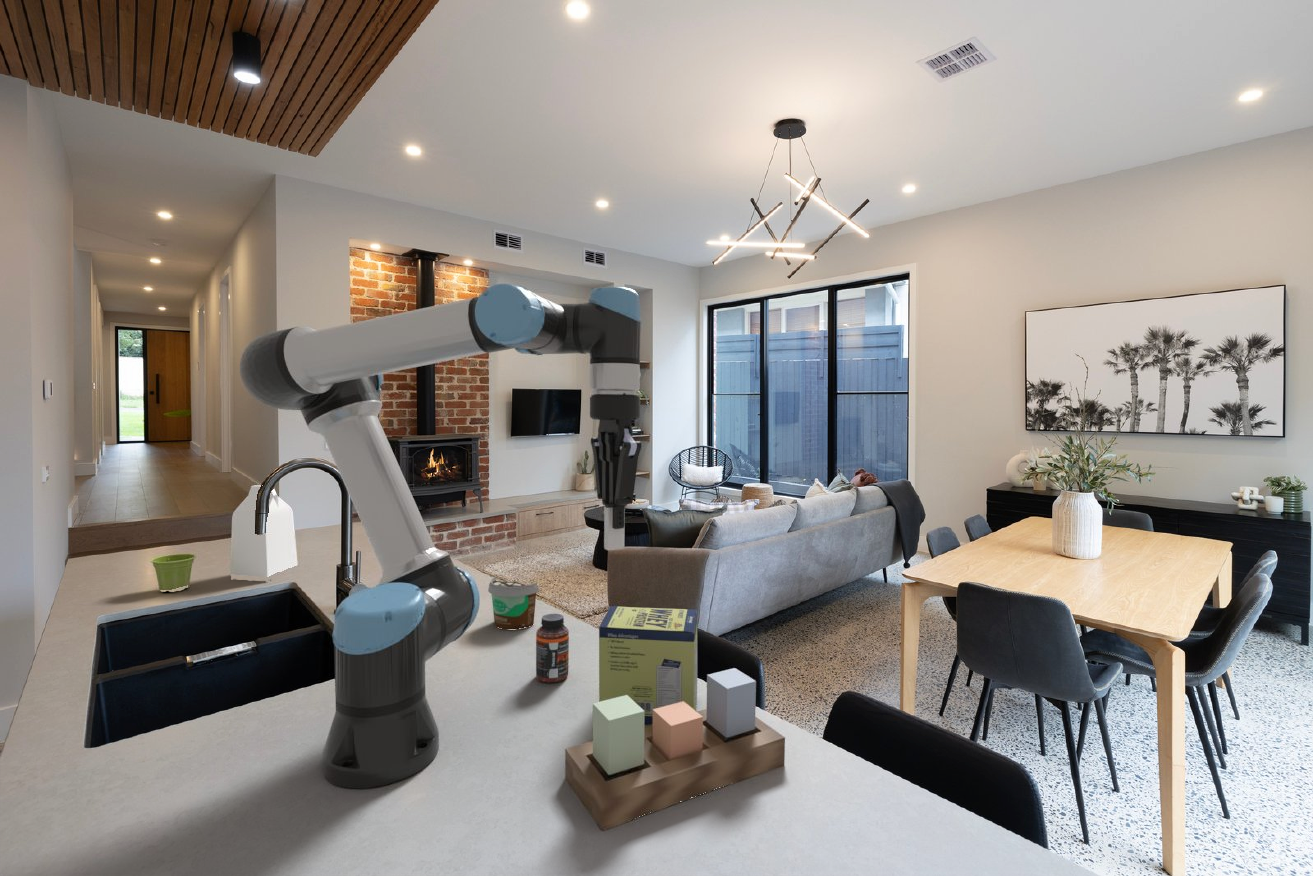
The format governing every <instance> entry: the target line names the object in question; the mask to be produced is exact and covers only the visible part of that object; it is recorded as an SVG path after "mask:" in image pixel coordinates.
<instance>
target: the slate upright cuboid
mask: <svg viewBox="0 0 1313 876" xmlns="http://www.w3.org/2000/svg"><path fill="white" fill-rule="evenodd" d="M756 693H757V681H756V679H753V678H752V677H750V676H749V675H747V674H745V673H744V672H742V670H741V671H740V670H739V669H737V668H735V667H733V668H729V669H725V670H721V671H717V672H713V673H710V674H709V673H708V674H706V709H707V716H706V722H707V723H709V724H710V725H711V726H712V727H714V728H715V729H716V730H717V731H719V732H720V733H721V734H722V735H724V736H725V737H726V738H728V737H731V736H734V735H737V734H741V733H744V732H747V731H750V730H753V729H755V717H756V701H757V700H756V699H757V697H756V696H757V694H756Z"/></svg>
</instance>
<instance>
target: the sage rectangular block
mask: <svg viewBox="0 0 1313 876" xmlns="http://www.w3.org/2000/svg"><path fill="white" fill-rule="evenodd" d="M644 713H645V711H644V710H643V709H642V708H641V707H640V706H638V705H637V704H636V703H635V702H634V701H633V700H632V699H631V698H630V697H629V696H628V695H624V696H620V697H617V698H613V699H609V700H605V701H601V702H599V701H597V702H593V703H592V741H593V756H594V757H595V759H596V760H597V761H598V762H599V764H600V765H601V766H602V767H603V769H604V770H605V771H606V772H607V774H608V775H611V774H614V773H617V772H620V771H624V770H627V769H630V768H633V767H636V766H639V765H643V764H644V726H645V725H644Z"/></svg>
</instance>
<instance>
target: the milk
mask: <svg viewBox="0 0 1313 876" xmlns="http://www.w3.org/2000/svg"><path fill="white" fill-rule="evenodd" d="M260 487H261V485H258V484H257V485H251V486H250V489H249V492H248V495H247V496H246V497H245V498H244V499H243V501H241V503H240V504H239V505H238V506H237V507H236V508H235V510H234V511H233V513H232V515H231V517H232V518H231V541H230V542H231V543H230V567H229V568H230V572H229V574H235V575H248V576H260V577H269V576H271V575H273V574H275V573H277V572H282V571H284V570H286V569H288V568H292V567H294V566H297V565H299V564H298V555H297V554H298V553H297V541H296V532H295V531H296V530H295V519H294V511H293V509H292V507H291V506H290V505H289V504H288V503H287V502H285V500H283V499H282V498H281V497H280V496H278V494H277V491H276V489H275V488H274V489H273V490H272V491H271V493H270V499H269V513H268V517H267V522H266V533H264V534H263V535H261V536H259V535H257V534H255V510H256V500H257V494H258V490H259V489H260Z"/></svg>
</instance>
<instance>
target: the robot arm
mask: <svg viewBox="0 0 1313 876" xmlns="http://www.w3.org/2000/svg"><path fill="white" fill-rule="evenodd" d="M641 324H642V319H641V304H640V296H639V294H638V292H637V291H636V290H634V289H632V288H630V287H629V288H628V287H623V286H603V287H596V288H593V289H591V291H590V293H589V299H588V302H583V303H556V302H555V303H554V302H553V301H551V300H548V299H546V298H544V297H542V296H540V295H538V294H537V293H534V292H532V291H531V290H529V289H528V288H526V287H524V286H521V285H516V284H511V283H505V282H503V283H496V284H494V285H491V286H489V287H488V288H486V289H485V290H484V292H482V293H481V294H480V295H479V296H475V297H470V298H466V299H461V300H457V301H451V302H447V303H442V304H436V305H432V306H428V307H422V308H418V309H417V308H416V309H413V310H408V311H405V312H398V313H394V314H389V315H385V316H384V315H383V316H379V317H376V318H371V319H367V320H361V321H355V322H350V323H346V324H342V325H337V326H332V327H328V328H323V329H318V330H316V329H314V328H312V327H309V326H306V325H304V326H303V325H300V326H295V327H290V328H285V329H281V330H275V331H271V332H267V333H264V334H261V335H260V336H257V337H255V339H253V340H252V341H250V342H249V344H248V345H247V346H246V347H245V348H244V351H243V352H242V355H241V357H240V361H239V375H240V380H241V382H242V383H243V386H244V388H245V389H246V390H247V392H248V393H249V394H250V395H251V396H252V397H253V398H255V399H256V400H257V401H258V402H260V403H262V404H263V405H266V406H267V407H270V408H275V409H278V410H285V411H300V412H301V414H302V416H303V419H304V422H305V423H306V425H307V428H308V430H309V431H311V432H313V433H316V434H318V435H321V436H322V437H323V439H324V440H325V443H326V445H327V448H328V450H329V452H330V454H331V457H332V458H333V462H334V463H335V466H336V468H337V470H338V473H339V475H340V477H341V479H342V481H343V484H344V486H345V488H346V490H347V493H348V495H349V498H350V499H351V502H352V505H353V507H354V508H355V511H356V512H357V515H358V518H359V520H360V522H361V525H362V527H363V529H364V531H365V534H366V537H367V538H368V541H369V543H370V545H371V547H372V549H373V553H374V555H375V556H376V558H377V561H378V563H379V566H380V567H381V570H382V572H381V576H380V578H379V580H378V584H376V585H375V586H373V587H366V588H363V589H360V590H358V591H356V592H353V593H352V594H350V595H348V596H347V597H345V598H344V599H343V600H342V601H341V603H339V605H338V606H337V607H336V609H335V612H334V620H333V621H334V623H333V630H332V635H331V636H332V643H333V654H334V655H333V657H334V659H333V660H334V662H333V663H334V690H335V711H334V716H333V719H332V723H331V725H330V729H329V732H328V735H327V738H326V740H325V744H324V747H323V750H322V756H321V760H322V761H321V763H322V774H323V775H322V776H323V777H324V778H325V779H326V780H327V781H328V782H329V783H331V784H333V785H335V786H337V787H342V788H348V789H369V788H377V787H382V786H385V785H390V784H394V783H396V782H399V781H402V780H405V779H407V778H408V777H411V776H414V775H415V774H416V773H418V772H420V771H422V770H423V769H425V768H426V767H427V766H428V765H429V764H431V763H432V761H433V760H434V759H435V758H436V756H437V755H438V752H439V749H440V738H439V737H440V733H439V727H438V725H437V723H436V720H435V716H434V715H433V712H432V709H431V707H430V704H429V701H428V699H427V695H426V662H427V661H428V660H430V659H431V658H433V657H434V656H435V655H436V654H437V653H439V652H440V651H442V650H443V649H444V648H445V647H447V646H448V645H449V644H451V643H453V642H455V641H457V640H458V639H460V638H461V637H462V636H463V635H464V634H465V633H466V631H467V630H468V629H469V628H470V627H471V626H472V625H473V623H474V622H475V620H476V618H477V615H478V613H479V610H480V602H481V599H480V598H481V597H480V590H479V587H478V585H477V583H476V581H475V579H474V578H473V576H472V575H471V574H470V573H469V572H468V571H467V570H463V569H462V568H460V567H459V566H455V564H454V563H453V560H452V557H451V556H450V554H449V552H447V551H444V550H442V549H439V548H437V547H436V546H435V544H434V542H433V540H432V537H431V535H430V532H429V530H428V529H427V526H426V524H425V522H424V520H423V519H424V518H423V517H422V515H421V512H420V511H419V508H418V505H417V503H416V501H415V499H414V497H413V494H412V492H411V489H410V487H409V485H408V482H407V481H406V479H405V476H404V474H403V471H402V470H401V467H400V465H399V463H398V460H397V458H396V456H395V454H394V452H393V449H392V447H391V444H390V442H389V440H388V438H387V435H386V433H385V431H384V428H383V427H382V425H381V422H380V420H379V418H378V415H379V413H380V412H381V410H382V407H383V403H382V400H381V397H380V394H381V392H382V389H381V386H382V385H383V381H384V379H383V375H384V374H388V373H394V372H398V371H402V370H409V369H413V368H418V367H423V366H428V365H434V364H438V363H444V362H447V361H453V360H457V359H464V358H469V357H474V356H478V355H482V354H487V353H488V354H489V353H496V352H503V351H508V350H512V349H514V350H515V351H516V352H517V353H519V354H526V355H535V356H542V355H563V354H564V355H565V354H569V355H570V354H572V355H573V354H581V355H583V354H585V355H586V354H589V390H590V391H592V392H593V394H591V396H590V397H589V417H590V418H591V419H592V420H595V421H596V420H597V421H598V420H599V421H598V423H599V424H598V428H597V437H591V438H590V445H591V449H592V453H593V454H592V455H593V462H594V475H595V476H594V477H595V484H596V485H595V486H596V494H597V495H596V496H597V499H598V500H601V503H602V505H603V506H604V507H603V508H604V511H603V513H604V514H603V515H604V518H603V519H604V521H603V522H604V523H603V524H604V525H603V526H604V527H603V529H604V531H603V538H604V539H603V548H604V550H606V551H616V550H624V549H625V536H626V535H625V526H626V525H625V522H626V521H625V513H626V512H625V511H626V508H625V507H627V506H628V505H632V504H633V501H634V494H635V485H636V480H637V477H636V476H637V469H638V463H639V462H638V461H639V456H640V453H641V450H642V442H641V441H638V440H637V441H635V439H634V438H633V435H634V434H633V433H634V432H633V427H632V421H635V420H636V421H637V420H638V419H639V418H640V416H641V411H640V410H641V397H639V395H638V394H637V395H636V392H639V391H640V387H641V385H640V384H641V382H640V381H641V379H640V378H641V377H642V373H641V370H640V369H641V368H640V366H641V360H640V359H641V358H640V357H641V329H642V328H641V327H642V325H641Z"/></svg>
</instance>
